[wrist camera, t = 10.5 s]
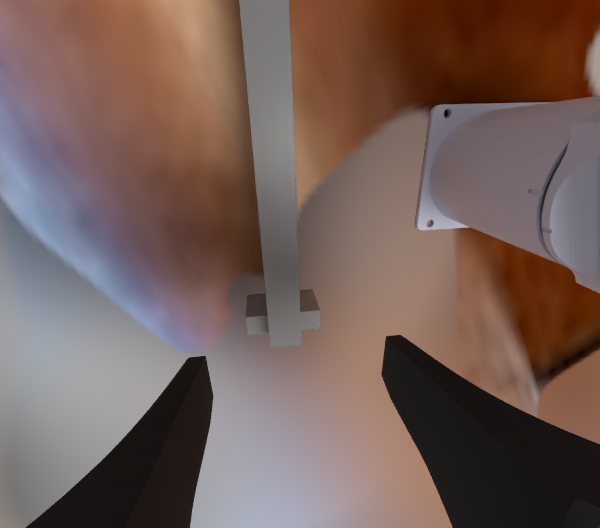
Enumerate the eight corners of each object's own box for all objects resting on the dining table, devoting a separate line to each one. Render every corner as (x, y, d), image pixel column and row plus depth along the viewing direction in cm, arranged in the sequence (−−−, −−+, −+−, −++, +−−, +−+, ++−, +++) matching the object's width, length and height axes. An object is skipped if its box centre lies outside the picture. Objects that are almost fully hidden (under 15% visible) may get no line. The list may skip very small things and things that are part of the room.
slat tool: (307, -26, 15) (325, -91, 11) (312, 305, 23) (324, 342, 19) (208, -29, 14) (186, -99, 10) (249, 311, 22) (246, 350, 18)
